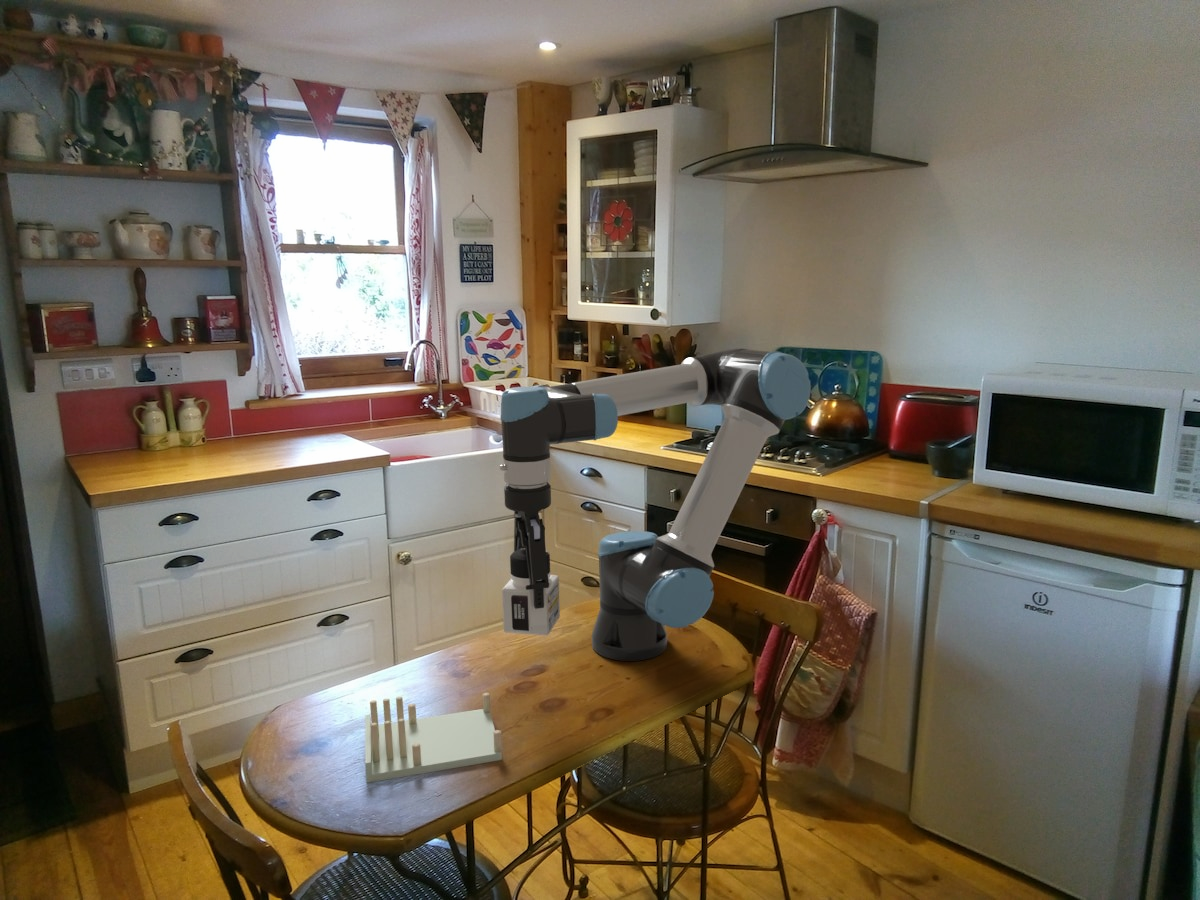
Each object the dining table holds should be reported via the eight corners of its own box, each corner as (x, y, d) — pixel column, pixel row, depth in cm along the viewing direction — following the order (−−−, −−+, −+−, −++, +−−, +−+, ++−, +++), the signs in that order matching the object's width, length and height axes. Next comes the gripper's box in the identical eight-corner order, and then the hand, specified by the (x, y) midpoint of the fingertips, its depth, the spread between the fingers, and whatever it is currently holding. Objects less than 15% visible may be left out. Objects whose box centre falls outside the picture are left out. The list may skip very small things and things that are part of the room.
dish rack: (490, 714, 139) (488, 675, 137) (503, 759, 126) (501, 716, 124) (366, 733, 134) (363, 692, 132) (366, 782, 120) (363, 738, 119)
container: (548, 636, 133) (546, 560, 130) (503, 633, 134) (499, 557, 132) (560, 617, 140) (558, 544, 138) (517, 614, 142) (514, 542, 139)
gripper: (493, 469, 142) (499, 590, 146) (516, 503, 121) (522, 643, 125) (536, 466, 144) (540, 585, 148) (566, 498, 122) (569, 636, 127)
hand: (531, 612), depth 137 cm, fingers closed on container, 10 cm apart
